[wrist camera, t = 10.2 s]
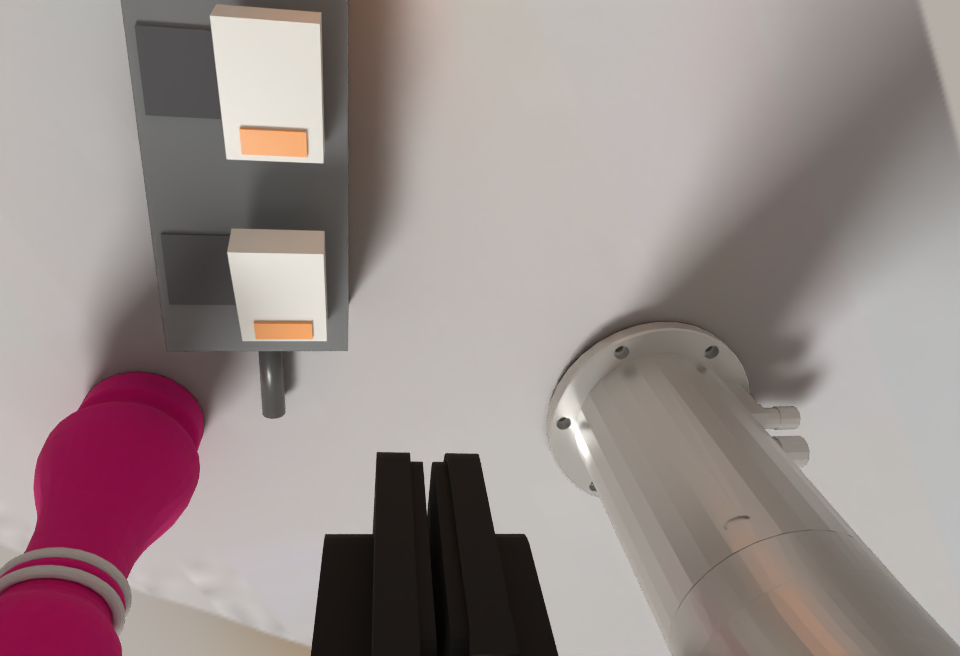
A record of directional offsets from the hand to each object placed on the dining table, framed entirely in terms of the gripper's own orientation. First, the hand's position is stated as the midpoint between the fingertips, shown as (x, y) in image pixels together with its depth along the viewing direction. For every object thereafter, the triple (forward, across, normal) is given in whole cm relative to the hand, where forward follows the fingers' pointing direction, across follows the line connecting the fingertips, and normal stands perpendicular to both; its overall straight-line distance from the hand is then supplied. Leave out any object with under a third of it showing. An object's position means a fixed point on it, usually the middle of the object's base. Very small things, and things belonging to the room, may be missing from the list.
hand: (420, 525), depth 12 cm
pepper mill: (+26, +13, +14) cm, 32 cm away
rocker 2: (+20, +5, +4) cm, 21 cm away
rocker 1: (+19, +5, -4) cm, 21 cm away
